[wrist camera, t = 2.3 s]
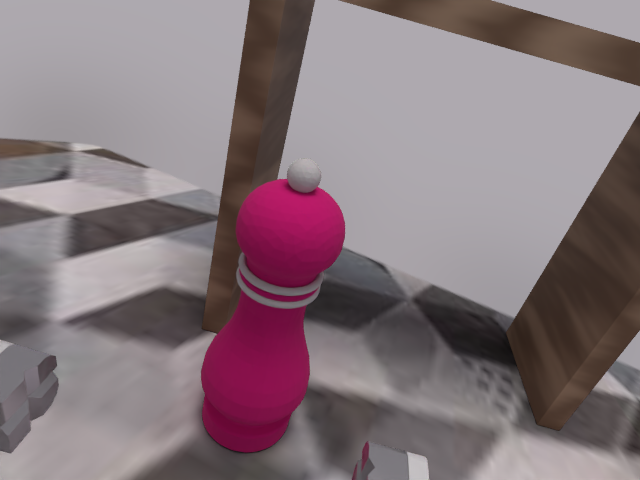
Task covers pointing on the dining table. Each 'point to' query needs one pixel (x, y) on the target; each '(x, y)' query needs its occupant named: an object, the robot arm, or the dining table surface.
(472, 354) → the dining table surface
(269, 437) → the pepper mill
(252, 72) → the arch
